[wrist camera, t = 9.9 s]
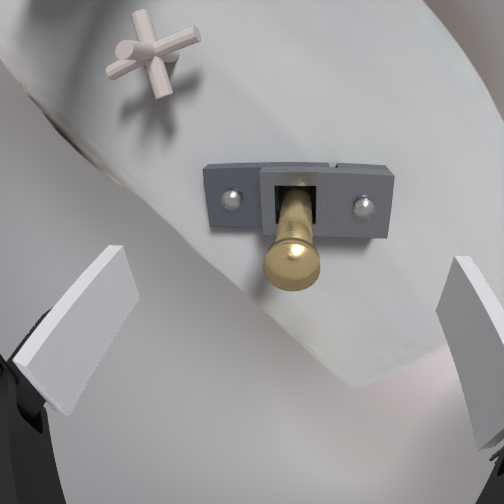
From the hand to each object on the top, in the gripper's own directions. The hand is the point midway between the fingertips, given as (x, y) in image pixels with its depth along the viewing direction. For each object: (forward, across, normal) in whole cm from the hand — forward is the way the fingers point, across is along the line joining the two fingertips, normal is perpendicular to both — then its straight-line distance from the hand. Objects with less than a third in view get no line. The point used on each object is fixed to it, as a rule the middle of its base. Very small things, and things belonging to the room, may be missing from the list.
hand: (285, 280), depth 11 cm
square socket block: (+24, 0, -6) cm, 24 cm away
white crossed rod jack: (+24, -13, +11) cm, 30 cm away
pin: (+24, 0, -6) cm, 24 cm away
